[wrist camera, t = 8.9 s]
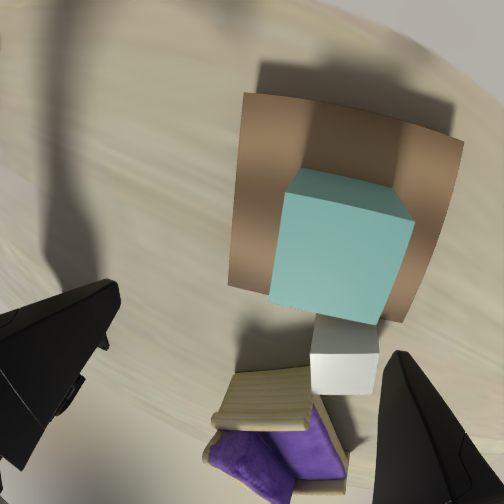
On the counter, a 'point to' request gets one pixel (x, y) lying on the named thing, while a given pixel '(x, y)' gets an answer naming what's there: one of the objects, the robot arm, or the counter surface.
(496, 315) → the counter surface
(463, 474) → the robot arm
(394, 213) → the teal block
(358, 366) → the grey cube
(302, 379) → the toy sofa
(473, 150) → the counter surface
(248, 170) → the base block
